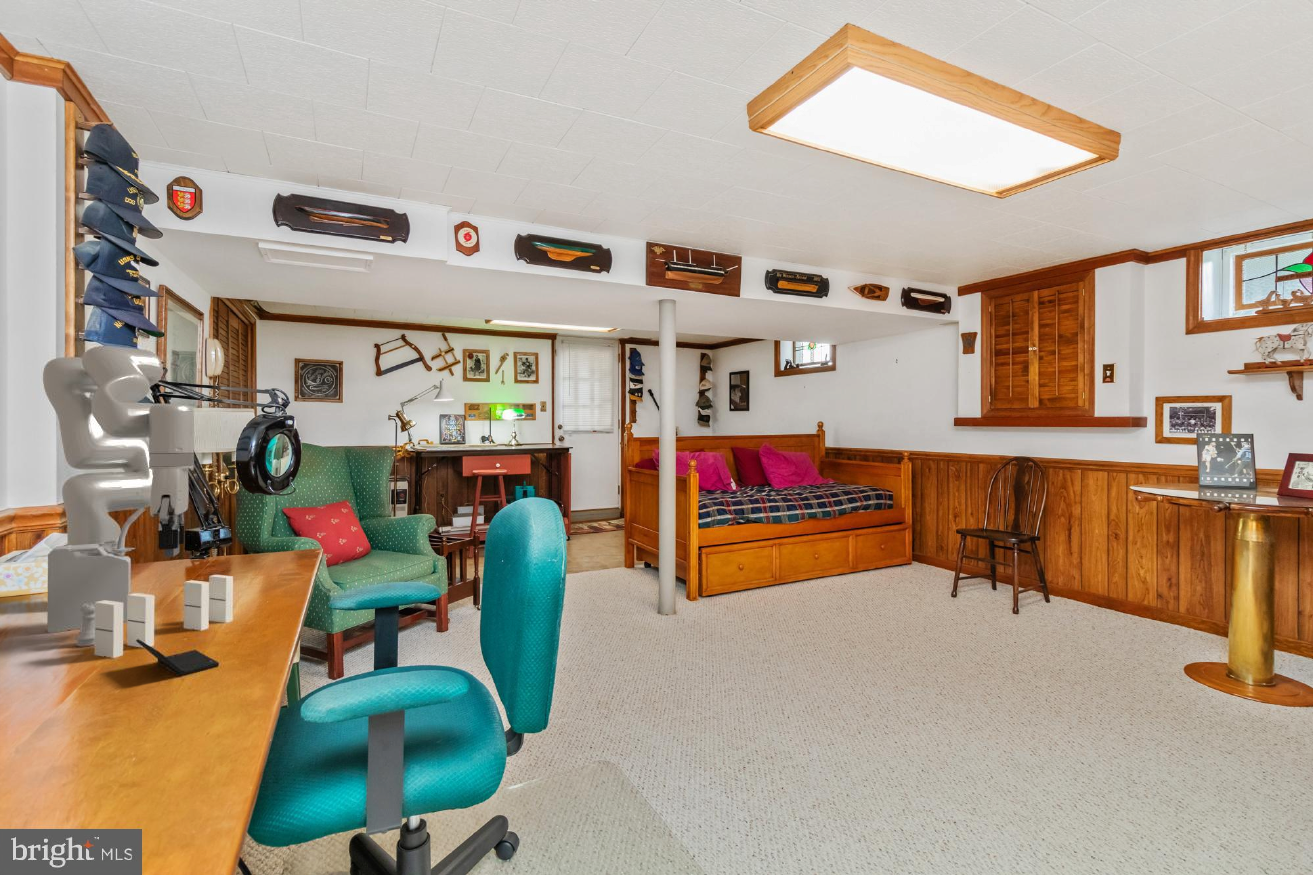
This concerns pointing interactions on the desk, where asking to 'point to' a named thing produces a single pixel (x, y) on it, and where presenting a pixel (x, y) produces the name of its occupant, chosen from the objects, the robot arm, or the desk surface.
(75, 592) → the fuel canister
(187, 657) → the handheld gaming console
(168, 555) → the domino
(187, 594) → the domino
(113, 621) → the domino
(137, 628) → the domino
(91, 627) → the rook chess piece
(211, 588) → the domino
